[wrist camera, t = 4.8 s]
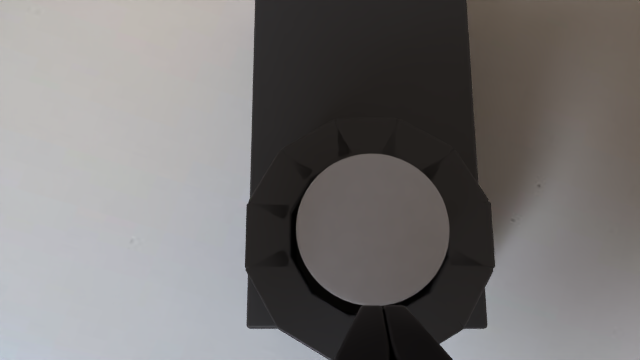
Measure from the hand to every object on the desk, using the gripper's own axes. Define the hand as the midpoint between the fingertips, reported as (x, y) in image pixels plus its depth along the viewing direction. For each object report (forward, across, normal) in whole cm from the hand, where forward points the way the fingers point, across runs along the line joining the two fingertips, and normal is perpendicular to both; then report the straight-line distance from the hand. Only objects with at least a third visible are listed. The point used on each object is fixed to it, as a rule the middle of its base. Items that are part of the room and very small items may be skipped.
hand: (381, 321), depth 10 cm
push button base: (+12, 0, -3) cm, 12 cm away
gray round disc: (+4, 0, -1) cm, 5 cm away
